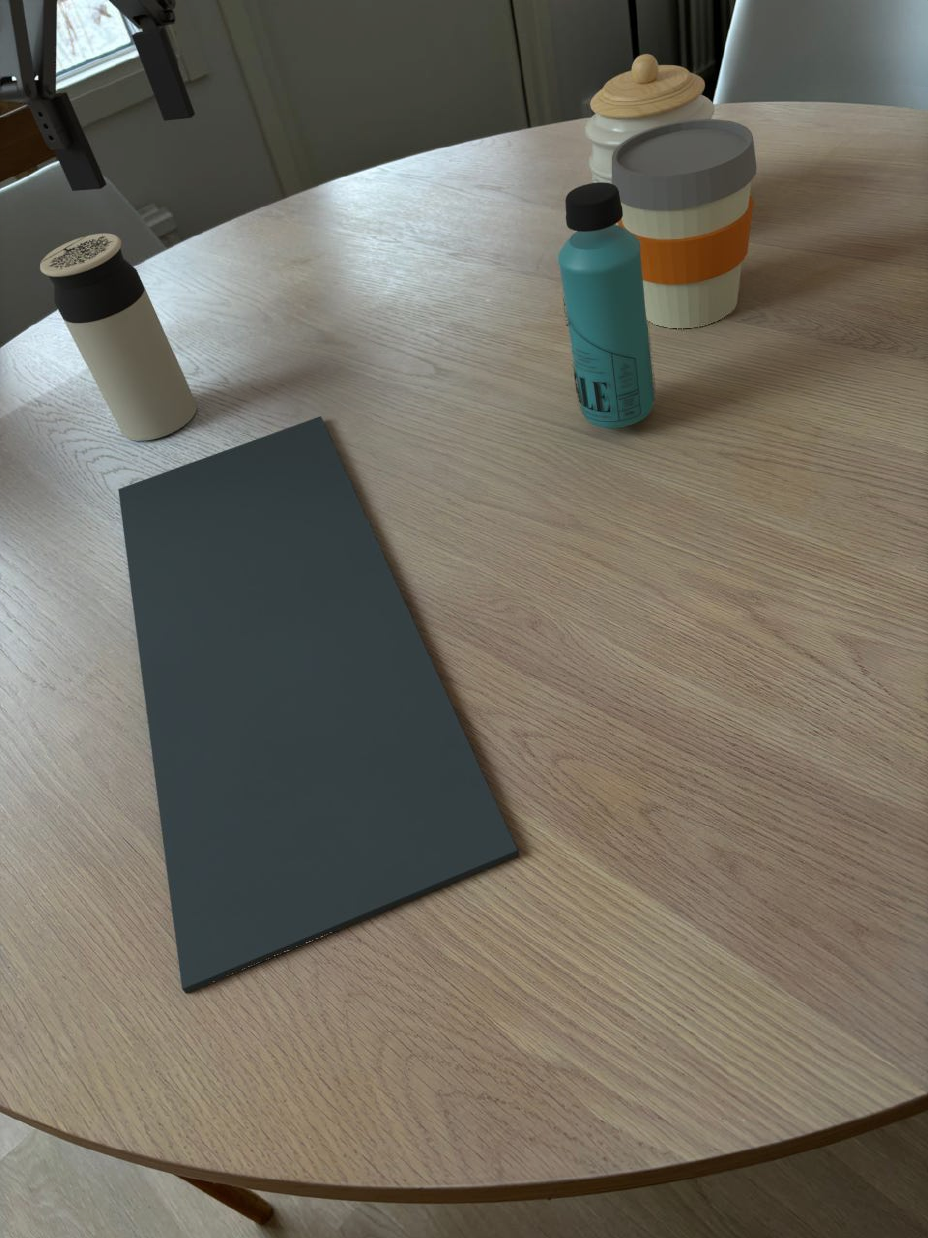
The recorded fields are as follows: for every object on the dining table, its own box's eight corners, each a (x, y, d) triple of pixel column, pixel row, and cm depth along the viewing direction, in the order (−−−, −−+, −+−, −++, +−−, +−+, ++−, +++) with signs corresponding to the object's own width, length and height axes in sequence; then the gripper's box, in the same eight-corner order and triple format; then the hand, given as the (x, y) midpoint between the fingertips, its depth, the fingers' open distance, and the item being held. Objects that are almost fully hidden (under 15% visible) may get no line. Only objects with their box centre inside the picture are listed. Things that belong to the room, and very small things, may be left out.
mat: (185, 994, 56) (181, 989, 56) (120, 493, 94) (117, 488, 94) (519, 855, 58) (518, 850, 58) (322, 420, 96) (320, 415, 96)
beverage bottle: (667, 403, 87) (649, 168, 73) (644, 449, 83) (620, 209, 69) (595, 398, 90) (565, 171, 76) (569, 442, 86) (533, 210, 72)
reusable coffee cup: (728, 345, 91) (723, 179, 81) (602, 332, 98) (583, 175, 87) (776, 278, 98) (777, 117, 88) (655, 269, 104) (644, 117, 94)
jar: (594, 216, 116) (574, 49, 104) (709, 194, 114) (702, 21, 102) (601, 267, 107) (580, 90, 95) (726, 245, 105) (721, 61, 93)
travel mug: (212, 411, 102) (137, 240, 90) (146, 452, 99) (59, 280, 87) (173, 390, 107) (97, 225, 95) (109, 428, 104) (22, 263, 92)
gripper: (-84, -152, 57) (87, 219, 71) (147, -228, 72) (248, 87, 87) (-178, -129, 59) (5, 224, 74) (65, -207, 75) (176, 96, 90)
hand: (137, 151), depth 80 cm, fingers open, 13 cm apart
